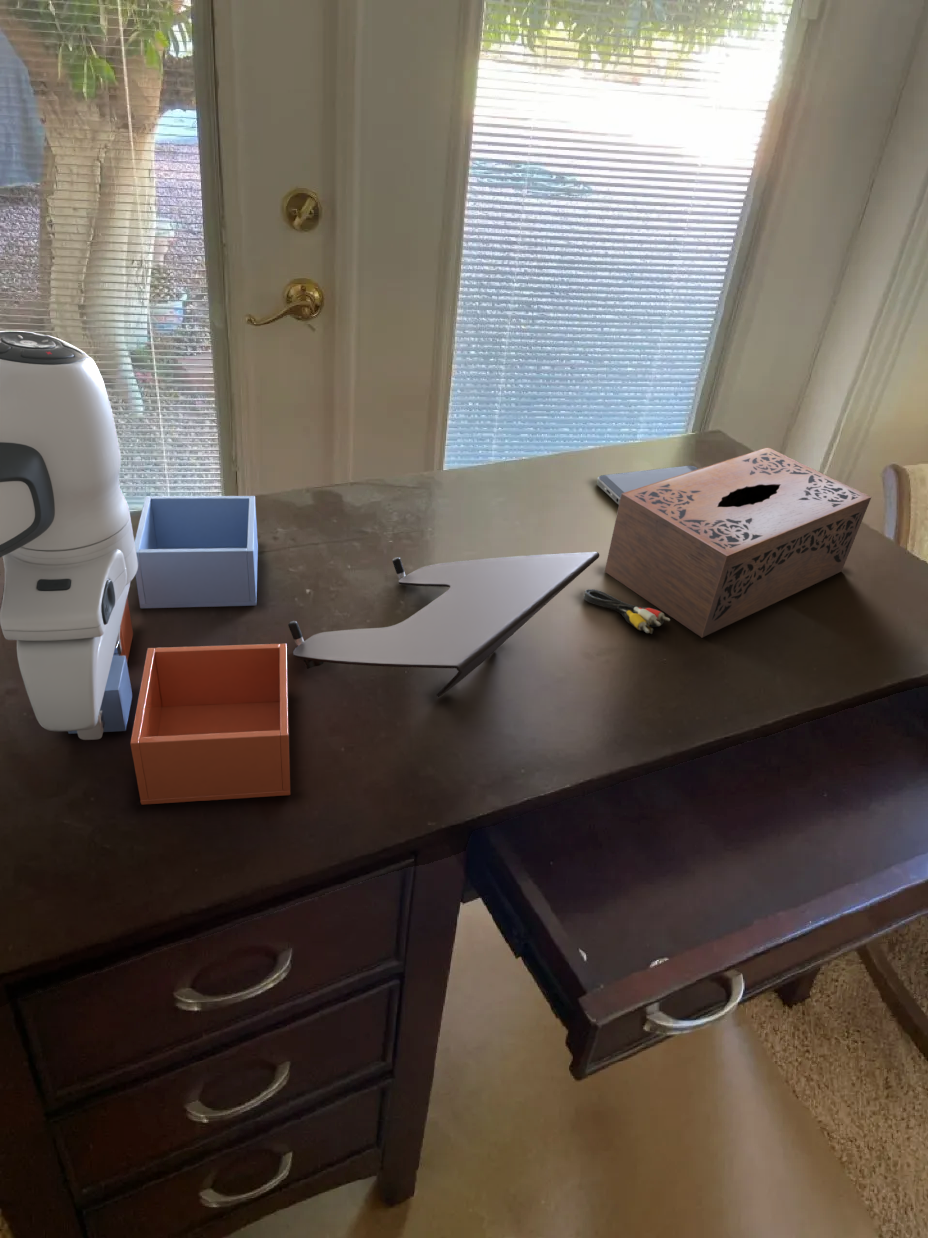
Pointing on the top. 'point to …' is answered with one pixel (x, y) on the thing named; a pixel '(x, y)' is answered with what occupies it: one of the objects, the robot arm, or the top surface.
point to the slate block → (116, 696)
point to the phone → (637, 479)
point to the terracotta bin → (212, 724)
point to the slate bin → (197, 551)
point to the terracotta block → (126, 631)
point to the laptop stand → (452, 614)
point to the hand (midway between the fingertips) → (102, 694)
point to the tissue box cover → (733, 537)
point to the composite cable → (628, 610)
